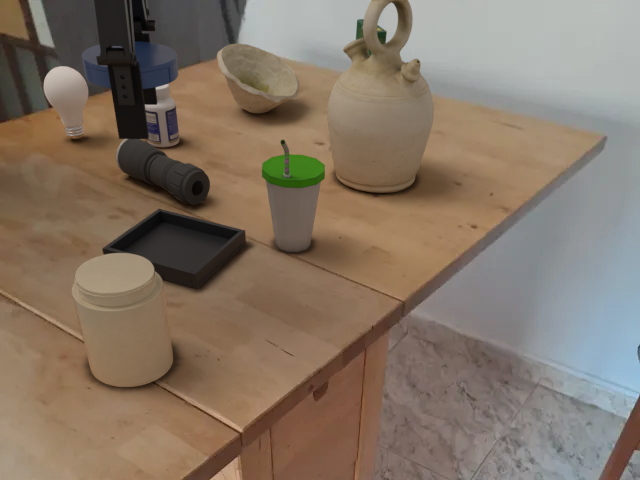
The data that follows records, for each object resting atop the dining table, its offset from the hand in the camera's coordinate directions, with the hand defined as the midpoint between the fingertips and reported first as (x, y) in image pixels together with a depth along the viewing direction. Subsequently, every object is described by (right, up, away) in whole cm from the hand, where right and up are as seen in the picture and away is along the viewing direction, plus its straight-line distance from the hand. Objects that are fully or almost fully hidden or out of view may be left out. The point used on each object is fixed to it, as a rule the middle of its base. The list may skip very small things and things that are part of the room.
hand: (139, 119), depth 69 cm
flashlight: (-5, +4, +32) cm, 33 cm away
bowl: (+7, +27, +58) cm, 64 cm away
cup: (+15, -7, +22) cm, 27 cm away
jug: (+27, +8, +38) cm, 47 cm away
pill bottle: (-8, +16, +45) cm, 49 cm away
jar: (-1, -24, +2) cm, 24 cm away
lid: (0, +4, -4) cm, 6 cm away
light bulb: (-22, +17, +45) cm, 53 cm away
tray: (0, -9, +19) cm, 21 cm away
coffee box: (+27, +32, +63) cm, 76 cm away
